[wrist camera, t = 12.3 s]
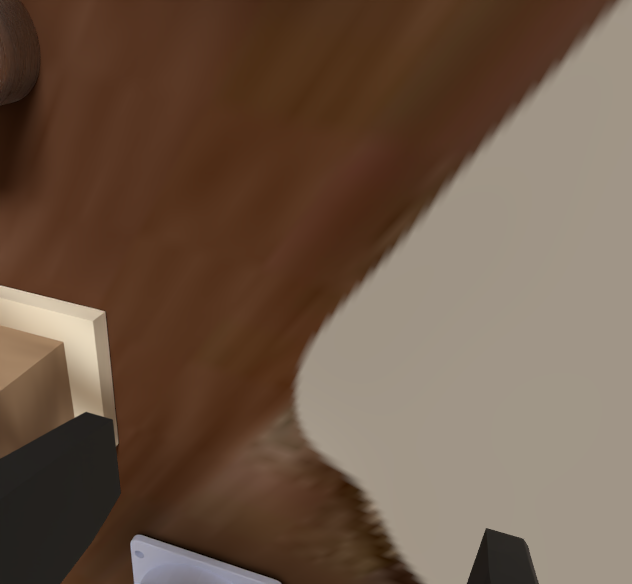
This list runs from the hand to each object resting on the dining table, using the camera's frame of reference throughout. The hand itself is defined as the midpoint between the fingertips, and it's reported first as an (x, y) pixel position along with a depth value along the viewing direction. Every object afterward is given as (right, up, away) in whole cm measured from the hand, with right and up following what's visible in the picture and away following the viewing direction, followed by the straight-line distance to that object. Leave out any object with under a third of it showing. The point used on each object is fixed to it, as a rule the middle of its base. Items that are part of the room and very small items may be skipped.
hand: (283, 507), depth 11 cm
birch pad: (-11, +1, +14) cm, 18 cm away
